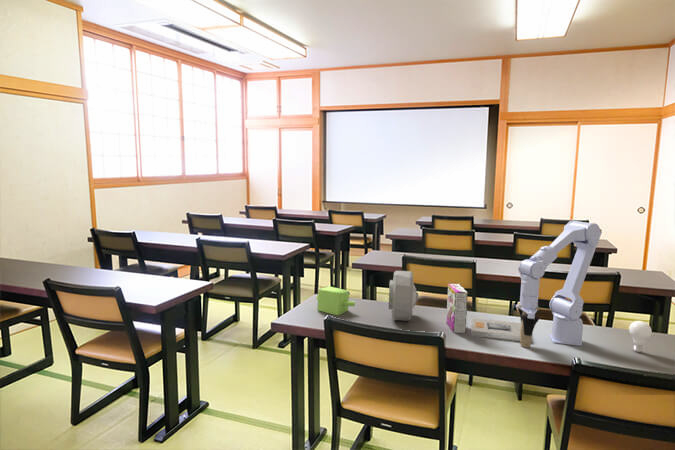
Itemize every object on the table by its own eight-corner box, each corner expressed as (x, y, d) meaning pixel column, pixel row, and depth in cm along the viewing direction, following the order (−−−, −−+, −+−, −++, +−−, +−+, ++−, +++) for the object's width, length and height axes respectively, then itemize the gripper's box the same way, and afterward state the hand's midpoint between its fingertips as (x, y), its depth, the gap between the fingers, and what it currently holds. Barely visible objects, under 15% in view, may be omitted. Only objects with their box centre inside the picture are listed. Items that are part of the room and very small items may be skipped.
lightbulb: (639, 347, 153) (643, 318, 151) (653, 355, 146) (657, 324, 145) (622, 347, 152) (625, 318, 151) (635, 355, 146) (638, 324, 145)
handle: (515, 342, 156) (518, 302, 154) (534, 345, 154) (538, 304, 152) (515, 347, 152) (518, 306, 150) (535, 350, 149) (539, 308, 147)
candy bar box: (445, 322, 174) (447, 283, 172) (457, 323, 174) (460, 283, 172) (452, 333, 163) (455, 291, 161) (466, 333, 163) (468, 291, 161)
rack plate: (524, 328, 169) (524, 323, 169) (529, 342, 156) (530, 336, 156) (471, 322, 175) (471, 317, 174) (471, 335, 161) (472, 330, 161)
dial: (417, 329, 167) (420, 278, 164) (387, 326, 169) (389, 277, 166) (416, 311, 187) (418, 266, 184) (389, 309, 189) (391, 265, 186)
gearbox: (359, 312, 186) (360, 291, 185) (347, 318, 178) (348, 296, 177) (324, 304, 196) (325, 283, 195) (311, 309, 187) (313, 287, 186)
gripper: (514, 287, 158) (511, 323, 160) (519, 299, 144) (516, 337, 146) (535, 289, 156) (532, 325, 158) (542, 301, 142) (539, 340, 144)
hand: (526, 331), depth 152 cm, fingers open, 6 cm apart
